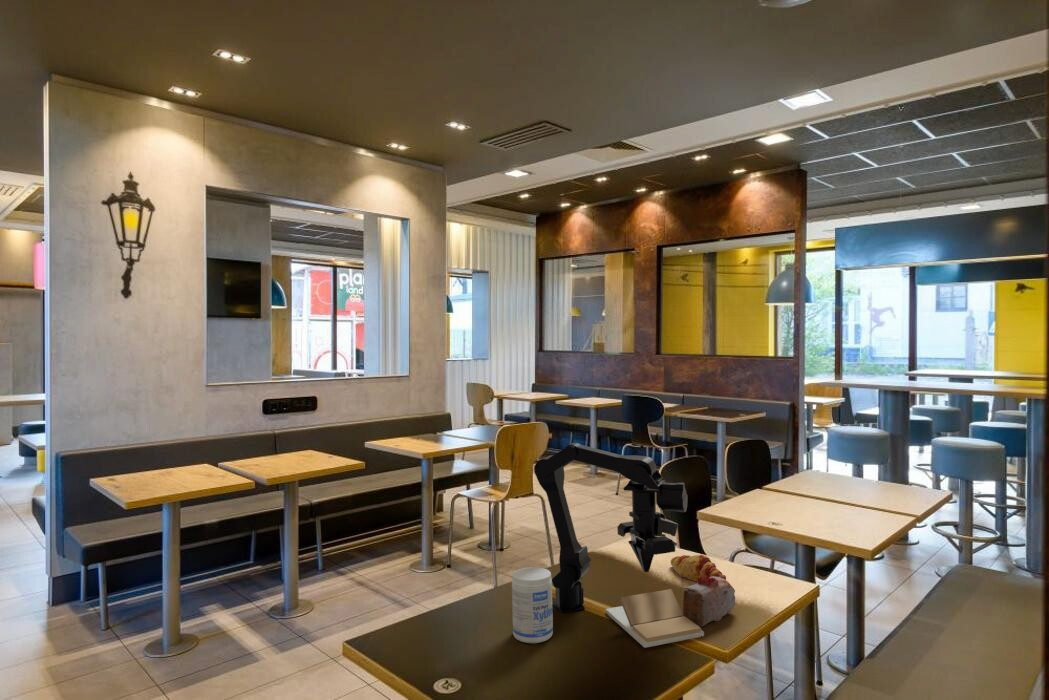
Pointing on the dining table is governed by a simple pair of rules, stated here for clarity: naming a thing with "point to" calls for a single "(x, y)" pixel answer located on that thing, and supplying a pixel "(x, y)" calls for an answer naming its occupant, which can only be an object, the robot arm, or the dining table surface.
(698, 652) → the dining table surface
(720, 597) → the food item
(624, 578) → the dining table surface
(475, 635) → the dining table surface
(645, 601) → the click plank
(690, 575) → the croissant
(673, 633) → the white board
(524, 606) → the supplement tub
